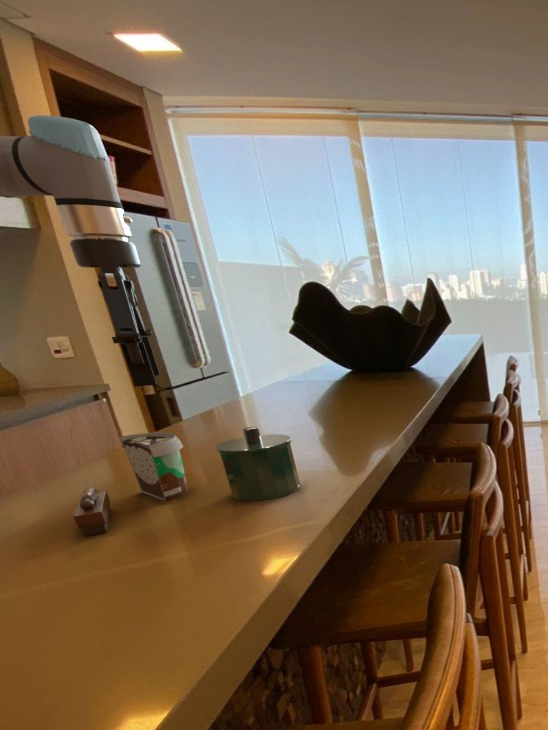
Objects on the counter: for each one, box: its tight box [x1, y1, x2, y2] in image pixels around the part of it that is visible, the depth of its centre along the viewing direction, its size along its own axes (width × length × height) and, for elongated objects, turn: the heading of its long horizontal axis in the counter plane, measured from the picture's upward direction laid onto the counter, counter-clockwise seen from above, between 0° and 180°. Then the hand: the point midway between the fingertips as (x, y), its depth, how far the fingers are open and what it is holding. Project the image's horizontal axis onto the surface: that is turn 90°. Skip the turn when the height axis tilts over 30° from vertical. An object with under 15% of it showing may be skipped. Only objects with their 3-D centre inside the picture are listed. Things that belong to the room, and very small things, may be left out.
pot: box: [219, 442, 301, 502], centre depth 99 cm, size 10×10×8 cm
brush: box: [73, 486, 112, 537], centre depth 86 cm, size 12×3×5 cm, turn 39°
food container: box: [119, 432, 189, 502], centre depth 99 cm, size 12×6×10 cm, turn 59°
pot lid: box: [215, 426, 292, 454], centre depth 97 cm, size 11×11×4 cm
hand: (148, 380), depth 94 cm, fingers open, 13 cm apart
